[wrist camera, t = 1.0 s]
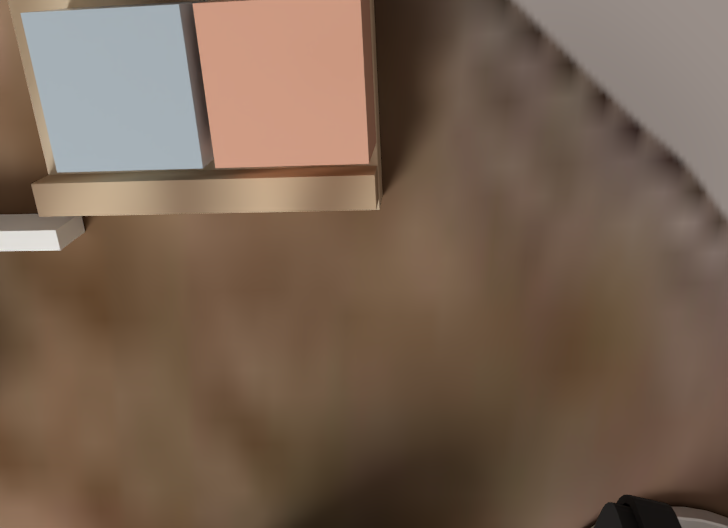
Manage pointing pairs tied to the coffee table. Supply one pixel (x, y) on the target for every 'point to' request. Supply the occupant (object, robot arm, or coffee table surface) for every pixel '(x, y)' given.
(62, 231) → the white u-shaped bracket
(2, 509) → the coffee table surface
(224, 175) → the wooden tray
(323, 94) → the tile
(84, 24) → the tile
